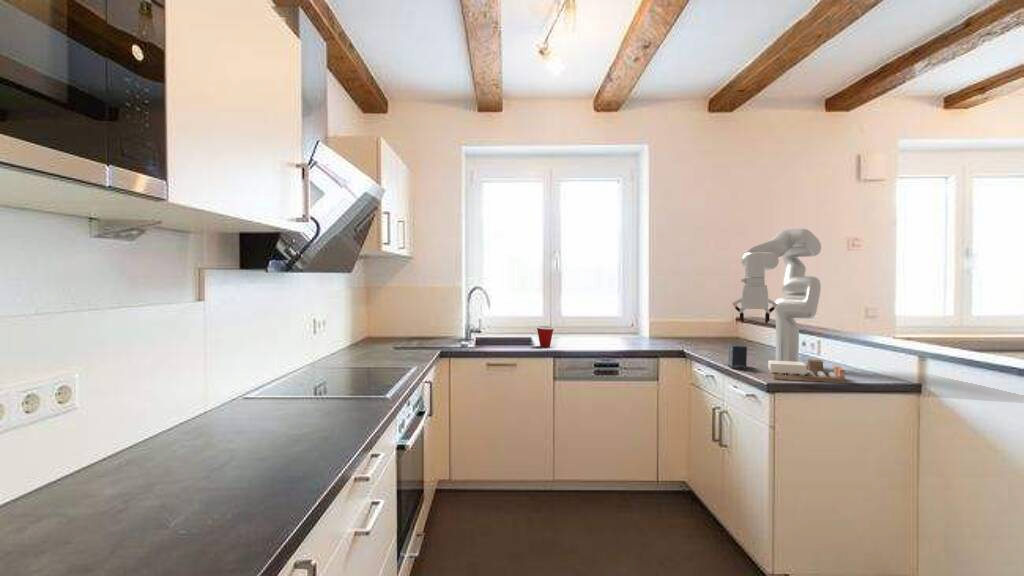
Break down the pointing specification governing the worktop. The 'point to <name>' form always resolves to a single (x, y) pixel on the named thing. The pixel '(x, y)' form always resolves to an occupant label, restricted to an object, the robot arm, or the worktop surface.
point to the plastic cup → (545, 335)
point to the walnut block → (814, 365)
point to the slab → (787, 367)
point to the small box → (737, 356)
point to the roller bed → (815, 375)
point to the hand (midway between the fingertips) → (754, 322)
